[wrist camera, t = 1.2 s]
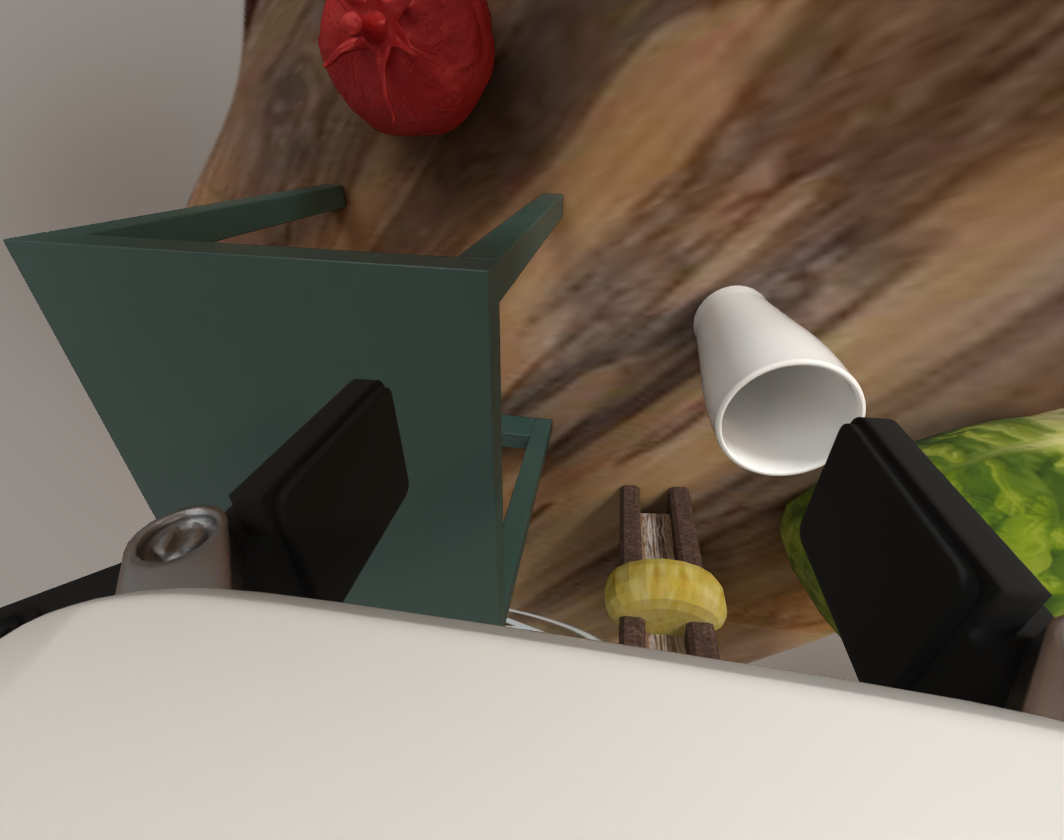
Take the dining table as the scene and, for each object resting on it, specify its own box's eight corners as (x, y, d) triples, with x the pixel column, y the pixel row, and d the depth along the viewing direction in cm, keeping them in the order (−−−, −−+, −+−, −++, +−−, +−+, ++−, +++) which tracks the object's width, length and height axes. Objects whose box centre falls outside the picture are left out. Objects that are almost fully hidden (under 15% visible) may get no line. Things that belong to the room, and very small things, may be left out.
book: (685, 620, 53) (726, 937, 32) (610, 613, 55) (602, 912, 34) (704, 464, 42) (784, 794, 21) (608, 462, 44) (594, 767, 23)
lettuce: (1007, 384, 40) (1222, 558, 32) (763, 526, 47) (890, 697, 39) (1101, 295, 27) (1516, 558, 19) (737, 513, 33) (925, 772, 26)
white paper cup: (685, 365, 38) (715, 483, 25) (679, 282, 34) (711, 369, 22) (777, 353, 36) (860, 473, 23) (780, 264, 33) (879, 348, 20)
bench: (323, 184, 35) (1, 239, 17) (563, 194, 32) (488, 270, 14) (368, 413, 45) (199, 598, 27) (551, 433, 43) (499, 650, 25)
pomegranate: (532, 90, 30) (500, 75, 22) (408, 167, 33) (342, 178, 25) (454, -107, 26) (380, -212, 18) (322, 5, 29) (213, -41, 21)
